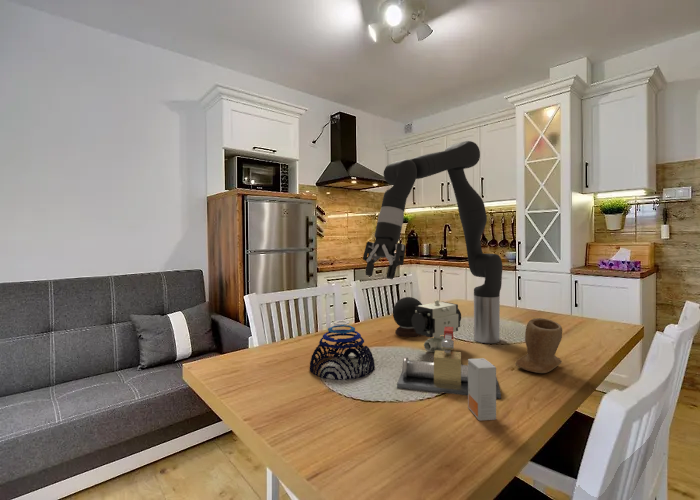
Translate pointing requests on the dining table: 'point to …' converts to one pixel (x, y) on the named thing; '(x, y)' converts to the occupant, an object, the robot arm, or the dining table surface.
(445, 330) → the valve lever
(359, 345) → the decorative bowl
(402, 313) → the black ball on base
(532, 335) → the stone cup
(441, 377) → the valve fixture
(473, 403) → the skincare box
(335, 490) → the dining table surface
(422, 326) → the ball valve
